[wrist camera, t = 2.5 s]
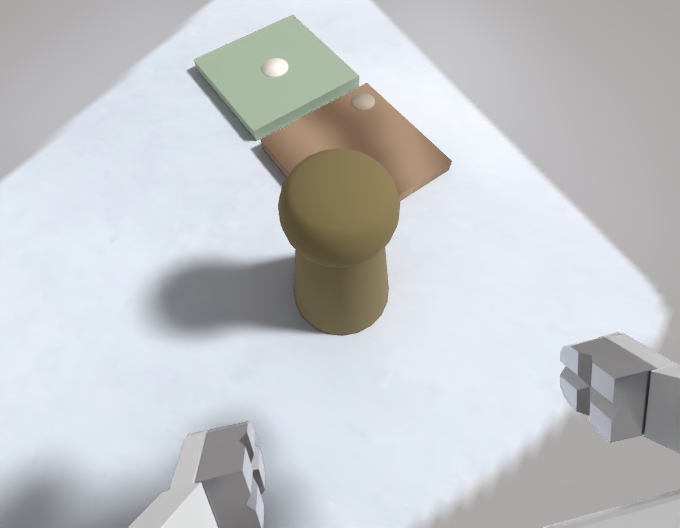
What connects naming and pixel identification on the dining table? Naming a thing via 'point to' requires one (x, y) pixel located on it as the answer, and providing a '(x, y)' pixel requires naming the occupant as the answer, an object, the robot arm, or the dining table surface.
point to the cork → (339, 237)
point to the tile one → (276, 75)
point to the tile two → (361, 139)
